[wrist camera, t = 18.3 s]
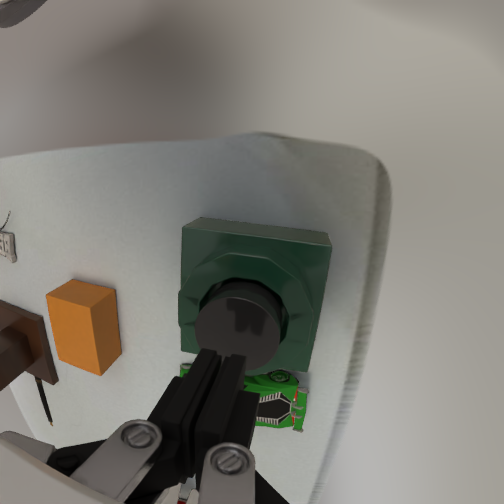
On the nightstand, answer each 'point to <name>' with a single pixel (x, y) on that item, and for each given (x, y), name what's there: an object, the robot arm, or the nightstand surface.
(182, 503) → the soda can
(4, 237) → the necklace
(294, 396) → the toy car
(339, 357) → the nightstand surface
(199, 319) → the dark grey button cap
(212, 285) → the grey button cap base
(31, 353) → the stand
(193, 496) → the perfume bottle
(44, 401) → the fountain pen
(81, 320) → the orange block
